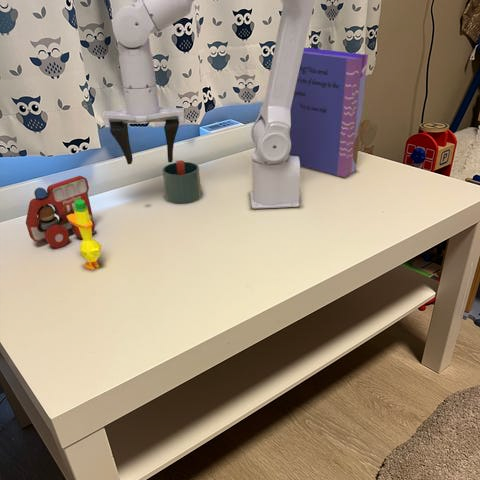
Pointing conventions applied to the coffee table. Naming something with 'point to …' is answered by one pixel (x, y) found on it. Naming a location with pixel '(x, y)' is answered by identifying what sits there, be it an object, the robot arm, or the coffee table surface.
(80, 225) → the toy figure
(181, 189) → the can
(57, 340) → the coffee table surface
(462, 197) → the coffee table surface
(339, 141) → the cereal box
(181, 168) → the red cylinder
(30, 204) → the toy fire truck
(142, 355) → the coffee table surface
